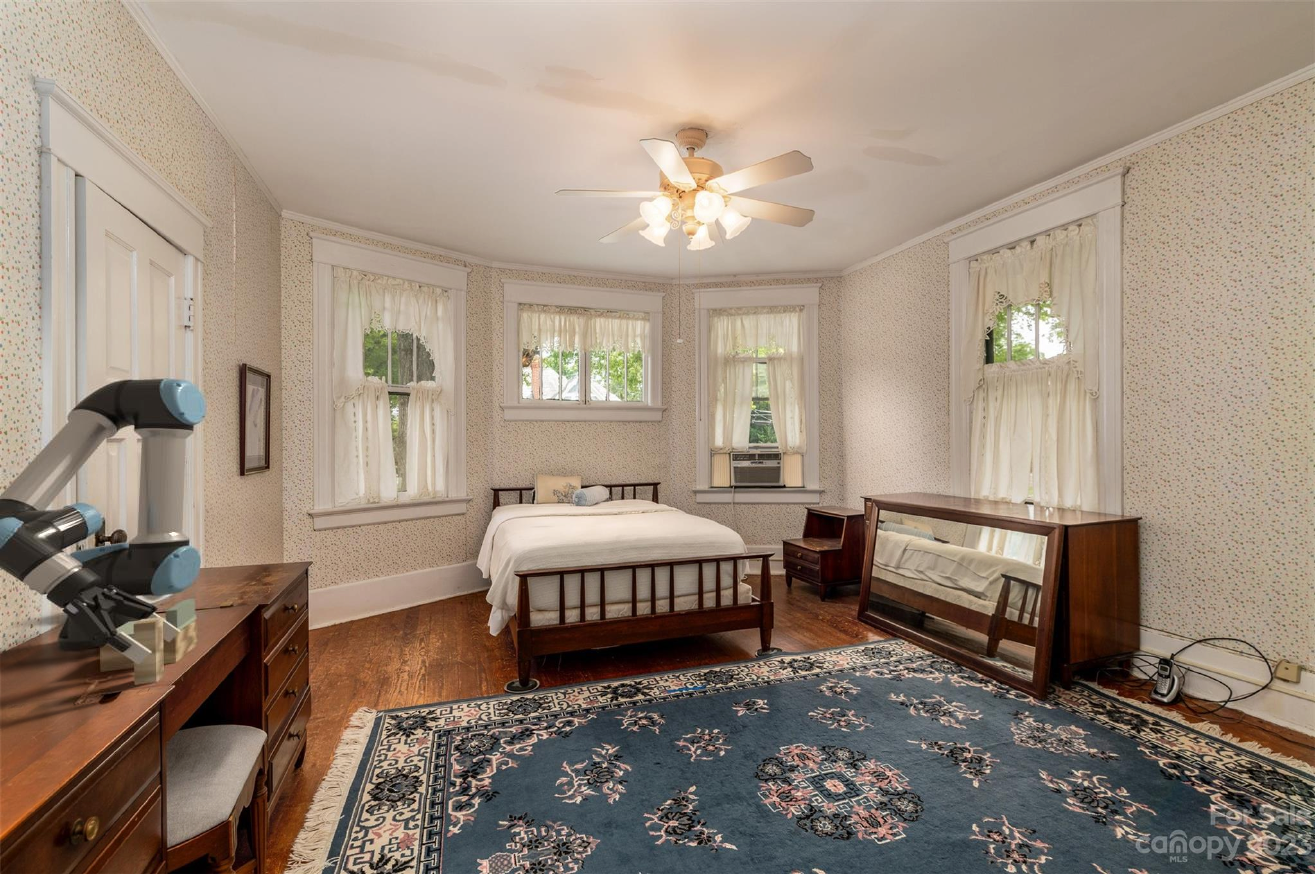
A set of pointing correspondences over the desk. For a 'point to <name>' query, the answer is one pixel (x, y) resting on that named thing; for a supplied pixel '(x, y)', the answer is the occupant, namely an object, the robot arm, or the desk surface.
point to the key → (91, 687)
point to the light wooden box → (171, 650)
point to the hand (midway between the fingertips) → (161, 646)
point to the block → (152, 639)
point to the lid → (169, 617)
